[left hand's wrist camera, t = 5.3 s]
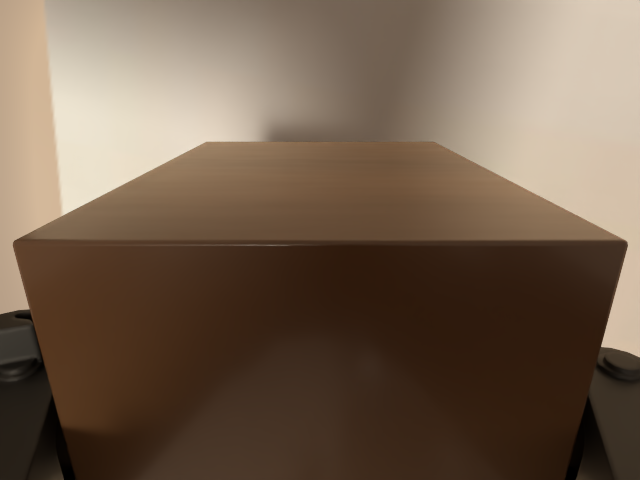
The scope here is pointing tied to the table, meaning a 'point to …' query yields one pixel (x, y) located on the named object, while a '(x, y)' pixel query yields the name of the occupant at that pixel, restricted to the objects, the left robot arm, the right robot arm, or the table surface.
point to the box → (320, 318)
